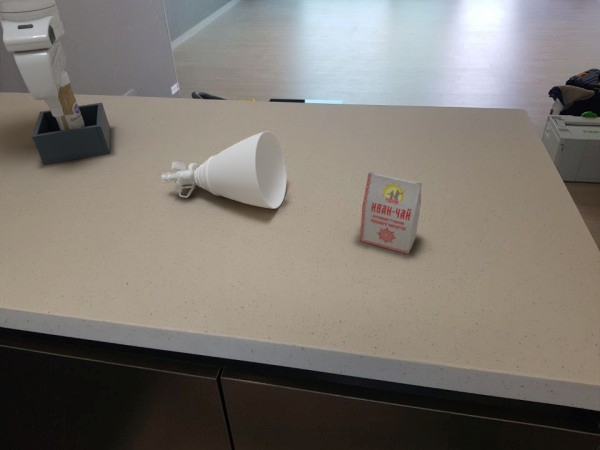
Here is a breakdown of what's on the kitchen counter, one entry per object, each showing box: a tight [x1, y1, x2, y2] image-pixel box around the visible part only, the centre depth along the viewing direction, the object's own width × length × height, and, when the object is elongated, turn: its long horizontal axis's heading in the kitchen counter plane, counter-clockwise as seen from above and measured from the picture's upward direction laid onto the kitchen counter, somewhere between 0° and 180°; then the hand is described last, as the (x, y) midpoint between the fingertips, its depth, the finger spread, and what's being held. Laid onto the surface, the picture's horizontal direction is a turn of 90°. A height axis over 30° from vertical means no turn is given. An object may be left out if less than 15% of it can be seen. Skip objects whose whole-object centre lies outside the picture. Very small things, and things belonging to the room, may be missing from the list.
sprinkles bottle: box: [56, 70, 85, 131], centre depth 85 cm, size 5×5×14 cm
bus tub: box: [31, 102, 111, 165], centre depth 87 cm, size 12×12×6 cm
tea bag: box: [359, 171, 422, 255], centre depth 60 cm, size 4×7×10 cm, turn 64°
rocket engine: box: [160, 130, 288, 210], centre depth 71 cm, size 12×12×18 cm
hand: (61, 105), depth 84 cm, fingers open, 8 cm apart
